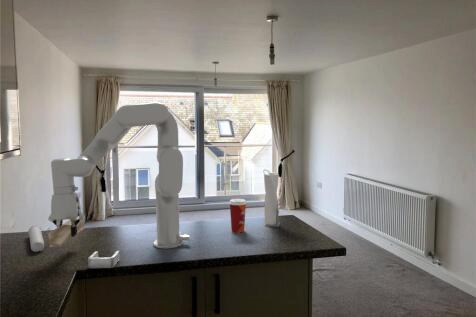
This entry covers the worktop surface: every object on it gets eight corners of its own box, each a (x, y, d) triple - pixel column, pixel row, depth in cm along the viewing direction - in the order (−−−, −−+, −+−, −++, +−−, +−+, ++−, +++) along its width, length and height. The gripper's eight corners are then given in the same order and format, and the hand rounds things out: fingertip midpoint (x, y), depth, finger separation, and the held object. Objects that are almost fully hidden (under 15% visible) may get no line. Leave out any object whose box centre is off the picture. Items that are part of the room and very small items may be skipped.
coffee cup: (246, 233, 175) (246, 202, 174) (228, 233, 176) (228, 202, 174) (246, 228, 184) (246, 198, 182) (229, 228, 184) (229, 198, 182)
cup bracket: (119, 260, 143) (119, 251, 143) (113, 267, 136) (113, 258, 135) (95, 260, 143) (95, 251, 143) (88, 268, 136) (87, 258, 135)
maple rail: (84, 228, 159) (83, 216, 159) (60, 246, 137) (59, 233, 137) (74, 228, 159) (73, 217, 159) (49, 246, 137) (48, 233, 137)
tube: (47, 242, 153) (42, 226, 174) (32, 240, 150) (30, 224, 171) (43, 255, 152) (39, 237, 174) (28, 253, 149) (26, 236, 171)
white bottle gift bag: (262, 226, 188) (262, 170, 185) (263, 221, 195) (263, 168, 192) (279, 227, 186) (279, 170, 183) (279, 222, 194) (280, 168, 191)
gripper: (89, 187, 150) (92, 232, 152) (47, 189, 150) (51, 233, 152) (81, 191, 143) (85, 238, 145) (37, 193, 142) (41, 239, 144)
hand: (68, 235), depth 148 cm, fingers closed on maple rail, 4 cm apart
